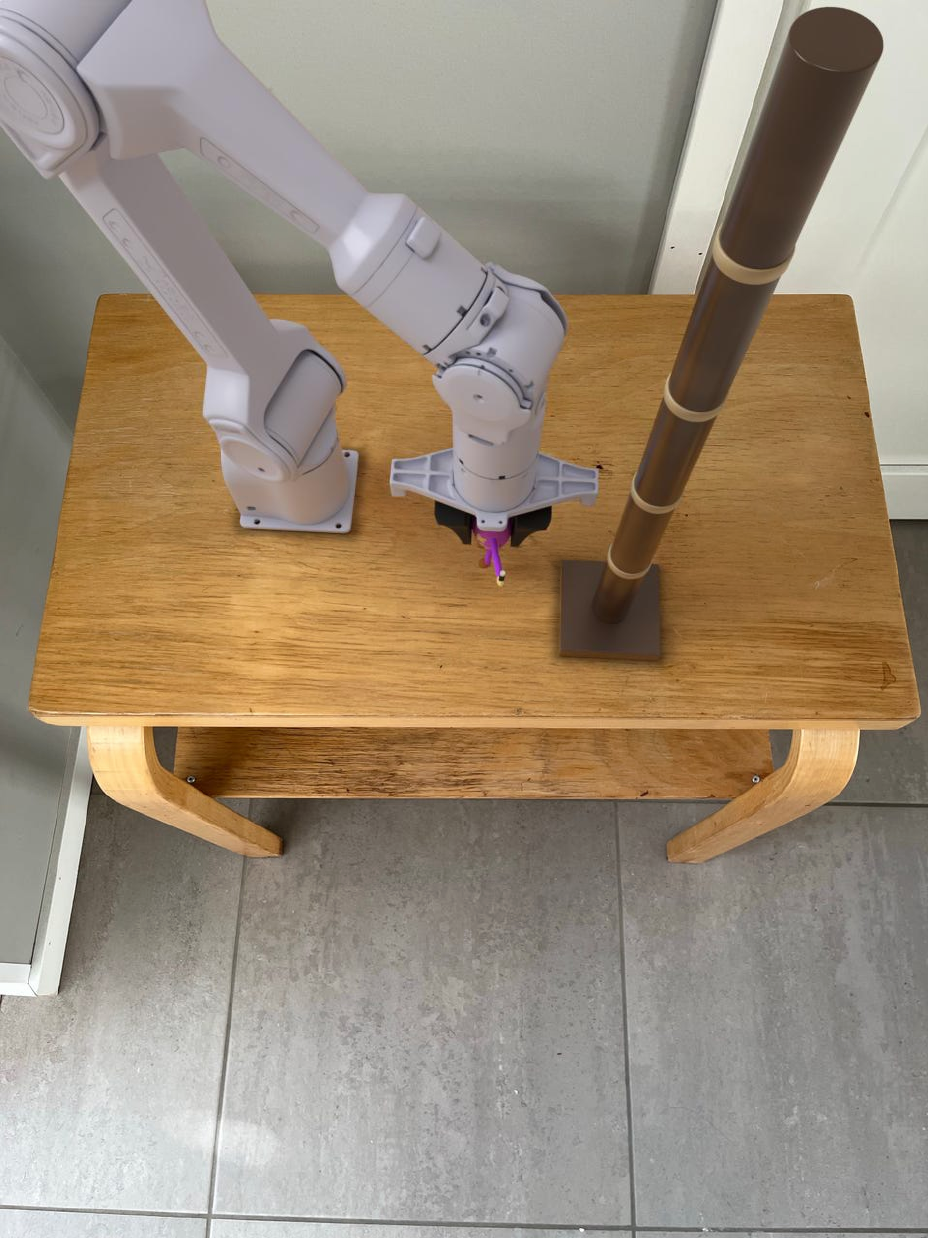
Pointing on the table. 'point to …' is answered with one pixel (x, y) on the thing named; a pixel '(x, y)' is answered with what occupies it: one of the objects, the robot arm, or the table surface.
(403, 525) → the table surface
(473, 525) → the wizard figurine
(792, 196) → the measuring staff
